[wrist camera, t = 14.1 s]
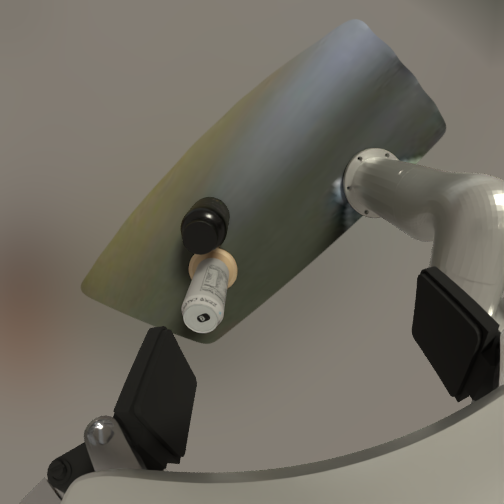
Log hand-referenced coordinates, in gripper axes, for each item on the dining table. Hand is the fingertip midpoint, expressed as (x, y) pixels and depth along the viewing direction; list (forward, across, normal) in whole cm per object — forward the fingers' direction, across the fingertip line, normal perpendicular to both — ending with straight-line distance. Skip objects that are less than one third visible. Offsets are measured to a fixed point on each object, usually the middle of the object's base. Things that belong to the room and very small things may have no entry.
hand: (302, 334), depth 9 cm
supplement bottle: (+38, +10, +4) cm, 40 cm away
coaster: (+38, +12, +14) cm, 42 cm away
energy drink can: (+38, +12, +14) cm, 42 cm away
